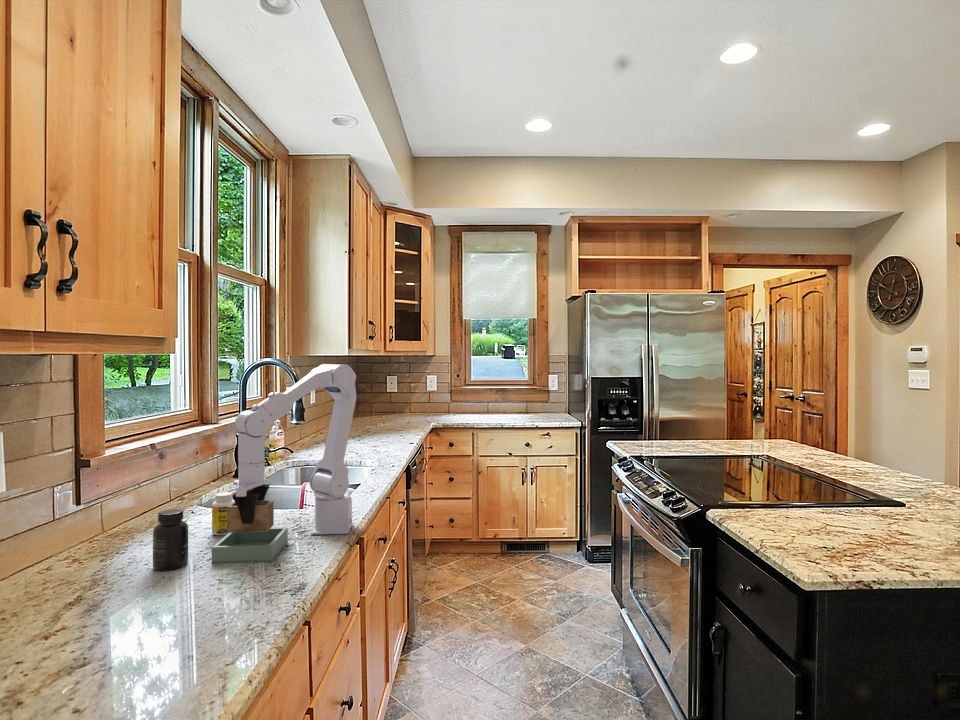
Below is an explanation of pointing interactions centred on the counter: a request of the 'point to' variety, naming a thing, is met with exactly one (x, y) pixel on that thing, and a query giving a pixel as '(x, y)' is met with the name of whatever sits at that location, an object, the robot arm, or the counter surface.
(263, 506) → the walnut crate
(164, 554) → the supplement bottle
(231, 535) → the green crate
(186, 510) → the counter surface
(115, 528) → the counter surface
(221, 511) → the supplement bottle
